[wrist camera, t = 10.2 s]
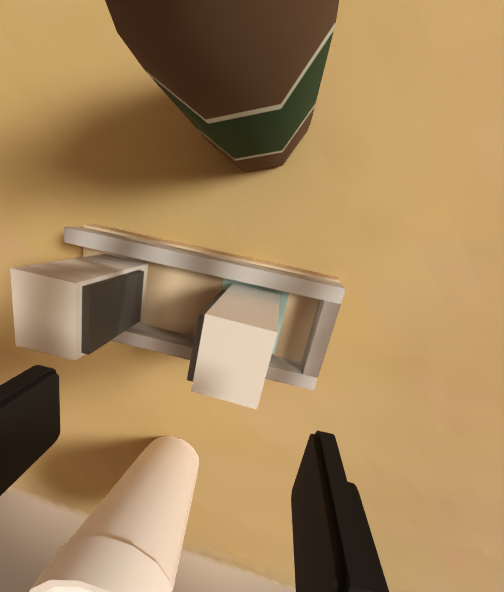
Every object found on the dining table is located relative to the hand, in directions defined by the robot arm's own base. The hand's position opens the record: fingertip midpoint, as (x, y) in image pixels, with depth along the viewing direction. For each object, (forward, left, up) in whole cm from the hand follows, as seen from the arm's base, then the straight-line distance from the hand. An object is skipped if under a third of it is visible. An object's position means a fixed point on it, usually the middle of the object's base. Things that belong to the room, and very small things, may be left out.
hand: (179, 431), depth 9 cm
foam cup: (-5, -20, -15) cm, 25 cm away
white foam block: (+1, 0, -13) cm, 13 cm away
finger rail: (-4, 0, -15) cm, 15 cm away
